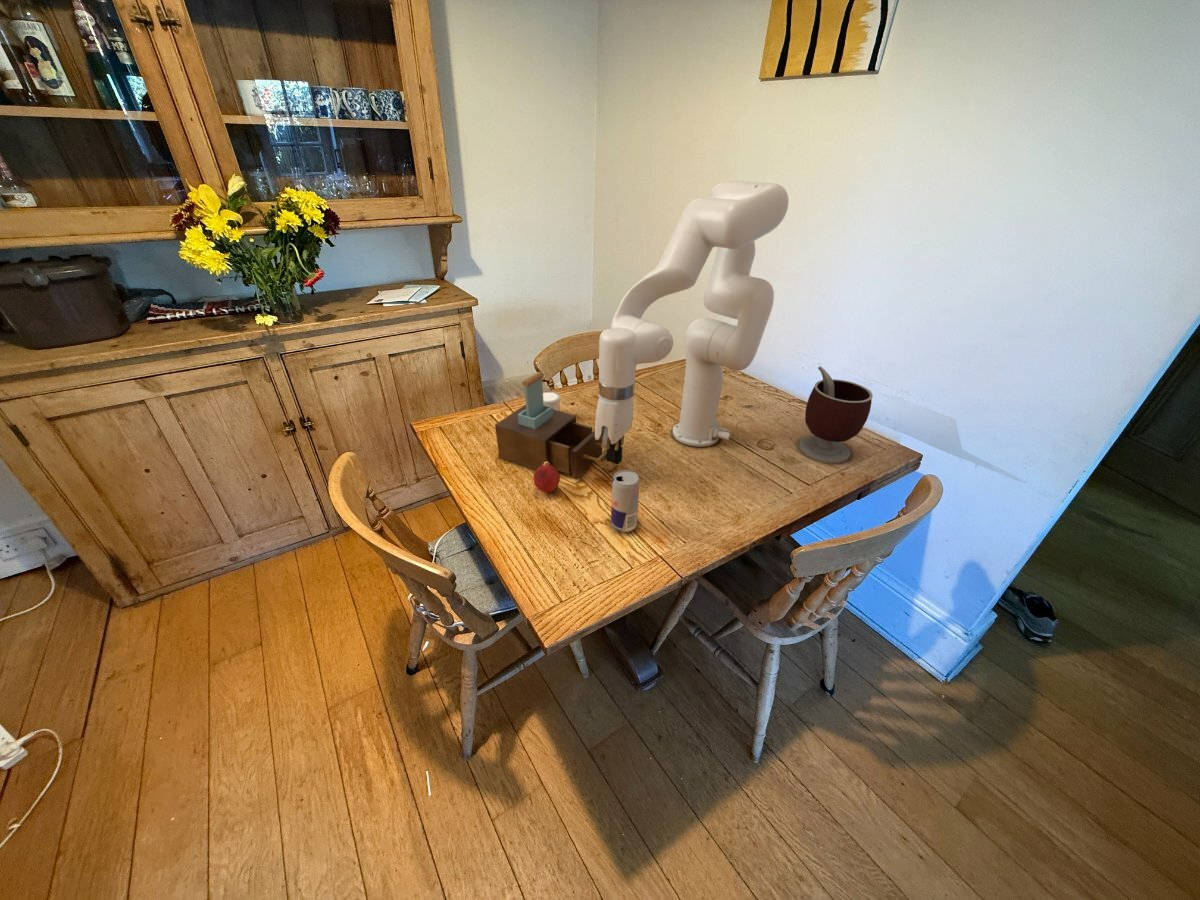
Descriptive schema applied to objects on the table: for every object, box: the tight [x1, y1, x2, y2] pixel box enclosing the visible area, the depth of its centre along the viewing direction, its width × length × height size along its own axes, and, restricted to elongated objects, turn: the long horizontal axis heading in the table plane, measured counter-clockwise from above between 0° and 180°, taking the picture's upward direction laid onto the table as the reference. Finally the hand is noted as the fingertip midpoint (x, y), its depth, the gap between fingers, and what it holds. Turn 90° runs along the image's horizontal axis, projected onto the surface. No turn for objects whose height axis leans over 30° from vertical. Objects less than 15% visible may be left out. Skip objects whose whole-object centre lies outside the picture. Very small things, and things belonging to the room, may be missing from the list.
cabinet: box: [494, 404, 577, 471], centre depth 115 cm, size 15×14×10 cm
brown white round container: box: [543, 391, 561, 411], centre depth 131 cm, size 7×7×7 cm
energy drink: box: [610, 469, 641, 533], centre depth 92 cm, size 5×5×12 cm
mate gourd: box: [798, 365, 873, 464], centre depth 115 cm, size 16×14×20 cm
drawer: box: [547, 421, 607, 480], centre depth 111 cm, size 18×12×8 cm
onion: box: [533, 461, 561, 493], centre depth 102 cm, size 6×6×8 cm
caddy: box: [518, 371, 553, 429], centre depth 109 cm, size 5×8×12 cm, turn 151°
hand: (614, 461), depth 106 cm, fingers closed
